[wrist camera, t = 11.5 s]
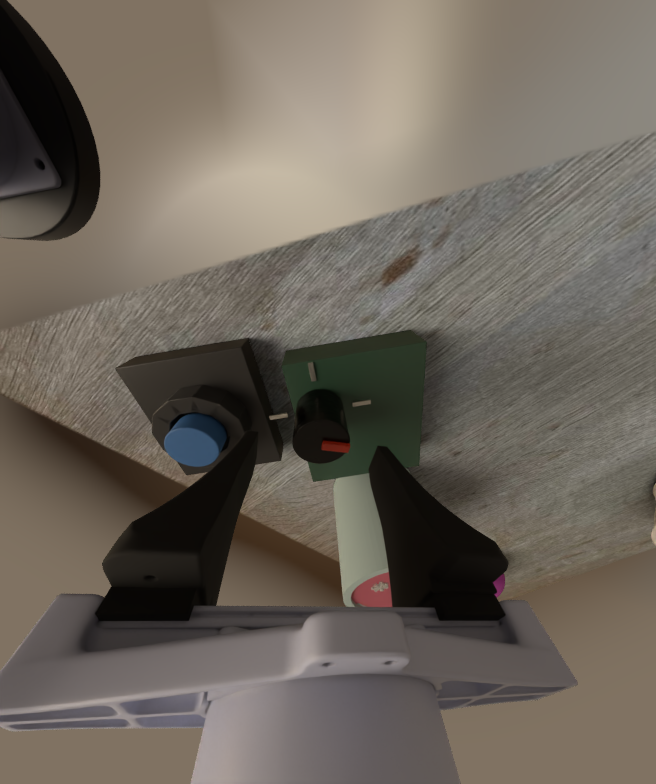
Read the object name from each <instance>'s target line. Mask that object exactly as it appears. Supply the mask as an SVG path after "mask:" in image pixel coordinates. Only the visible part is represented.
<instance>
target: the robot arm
mask: <svg viewBox="0 0 656 784" xmlns="http://www.w3.org/2000/svg"><path fill="white" fill-rule="evenodd" d="M41 161H42V162H43V163H44V165H45V169H44V170H43V168H42V166H41ZM60 186H61V178H60V176H59V174H58V172H57V170H56V169H55V167H54V165H53V163H52V161H51V159H50V158H49V156H48V154H47V152H46V150H45V149H44V147H43V145H42V143H41V141H40V139H39V138H38V136H37V134H36V132H35V130H34V129H33V127H32V125H31V123H30V121H29V119H28V118H27V116H26V114H25V112H24V110H23V109H22V107H21V105H20V103H19V101H18V99H17V98H16V96H15V94H14V92H13V90H12V89H11V87H10V85H9V83H8V81H7V79H6V78H5V76H4V74H3V72H2V70H1V69H0V199H3V198H8V197H13V196H18V195H24V194H29V193H34V192H39V191H45V190H50V189H55V188H59V187H60ZM257 446H258V432H256V431H246V432H245V433H244V435H243V436H242V437H241V439H240V440H239V441H238V442H237V443H236V445H235V446H234V447H233V448H232V449H231V450H230V451H229V452H228V453H227V454H226V456H225V457H224V458H223V459H222V460H221V461H219V462H218V463H217V464H216V465H215V466H214V467H213V468H212V469H211V470H210V471H209V472H208V473H206V474H205V475H204V476H203V477H202V478H200V479H199V480H198V481H197V482H195V483H194V484H193V485H191V486H190V487H189V488H187V489H186V490H185V491H183V492H182V493H180V494H179V495H177V496H176V497H174V498H173V499H171V500H170V501H168V502H167V503H165V504H163V505H162V506H160V507H159V508H157V509H155V510H154V511H152V512H150V513H148V514H146V515H144V516H143V517H141V518H139V519H137V520H135V521H134V522H132V523H131V524H130V525H129V527H128V528H127V529H126V530H125V531H124V532H123V533H122V535H121V536H120V537H119V539H118V540H117V541H116V543H115V544H114V546H113V547H112V548H111V550H110V551H109V553H108V554H107V556H106V557H105V559H104V560H103V563H102V566H103V570H104V572H105V574H106V576H107V578H108V580H109V582H110V584H111V586H112V587H111V588H110V590H109V591H108V593H107V595H106V596H105V598H104V597H103V596H100V595H96V594H60V595H58V596H57V597H56V598H55V599H54V601H53V602H52V603H51V605H50V606H49V607H48V609H47V610H46V611H45V613H44V614H43V615H42V616H41V618H40V619H39V621H38V622H37V623H36V624H35V626H34V627H33V628H32V630H31V631H30V632H29V634H28V635H27V636H26V638H25V639H24V640H23V642H22V643H21V644H20V646H19V647H18V648H17V650H16V651H15V652H14V654H13V655H12V656H11V658H10V659H9V660H8V661H7V663H6V664H5V665H4V667H3V668H2V670H1V671H0V727H1V728H4V729H7V730H10V731H32V730H53V729H82V728H83V729H89V728H203V733H202V737H201V741H200V745H199V750H198V754H197V758H196V763H195V767H194V771H193V776H192V780H191V784H461V783H460V779H459V776H458V772H457V769H456V765H455V762H454V758H453V755H452V751H451V747H450V744H449V740H448V737H447V733H446V730H445V726H444V723H443V719H442V716H441V713H440V710H447V709H454V708H463V707H471V706H479V705H488V704H496V703H506V702H517V701H530V700H538V699H541V698H544V697H547V696H549V695H552V694H555V693H557V692H560V691H563V690H566V689H568V688H571V687H574V686H576V685H577V684H578V683H577V680H576V679H575V677H574V675H573V674H572V672H571V671H570V669H569V667H568V666H567V664H566V663H565V661H564V660H563V658H562V656H561V655H560V653H559V652H558V650H557V648H556V647H555V645H554V643H553V642H552V640H551V639H550V637H549V635H548V634H547V632H546V631H545V629H544V627H543V626H542V624H541V623H540V621H539V620H538V618H537V616H536V615H535V613H534V611H533V610H532V608H531V607H530V605H529V603H528V602H527V601H525V600H503V601H500V602H498V600H497V598H496V596H495V594H496V593H497V589H496V587H495V586H494V584H493V582H494V581H495V580H497V579H498V578H499V577H500V576H501V575H502V574H503V573H504V572H505V571H506V570H507V568H508V561H507V559H506V558H505V556H504V555H503V553H502V552H501V550H500V548H499V547H498V545H497V544H496V542H495V541H493V540H491V539H490V538H488V537H487V536H485V535H483V534H482V533H480V532H479V531H477V530H475V529H474V528H472V527H471V526H470V525H468V524H467V523H465V522H464V521H462V520H461V519H460V518H458V517H457V516H456V515H454V514H453V513H452V512H450V511H449V510H448V509H447V508H445V507H444V506H443V505H442V504H441V503H439V502H438V501H437V500H436V499H435V498H434V497H433V496H432V495H431V494H429V493H428V492H427V491H426V490H425V489H424V488H423V487H422V486H421V485H420V484H419V483H418V482H417V481H416V480H415V478H414V477H413V476H412V475H411V474H410V473H409V472H408V471H407V470H406V468H405V467H404V466H403V465H402V464H401V463H400V461H399V460H398V459H397V458H396V457H395V455H394V454H393V453H392V452H391V451H390V449H389V448H388V447H386V446H377V448H376V451H375V454H374V456H373V459H372V461H371V464H370V466H369V469H368V470H369V478H370V485H371V489H372V492H373V496H374V500H375V503H376V507H377V511H378V514H379V518H380V522H381V526H382V531H383V537H384V543H385V549H386V556H387V563H388V571H389V579H390V587H391V598H392V607H297V606H294V607H293V606H291V607H289V606H288V607H287V606H216V604H217V599H218V594H219V591H220V586H221V582H222V578H223V574H224V570H225V565H226V561H227V557H228V553H229V549H230V545H231V541H232V537H233V533H234V529H235V525H236V522H237V518H238V515H239V512H240V509H241V506H242V503H243V500H244V498H245V495H246V492H247V489H248V486H249V484H250V481H251V478H252V475H253V471H254V467H255V463H256V458H257Z"/></svg>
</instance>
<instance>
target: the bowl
mask: <svg viewBox="0 0 656 784" xmlns="http://www.w3.org/2000/svg"><path fill="white" fill-rule="evenodd" d="M653 494H654V497H655V499H656V483H655V485H654V487H653ZM651 538H652V541H653V543H654V544H655V545H656V506H655V514H654V528H653V530H652V534H651Z"/></svg>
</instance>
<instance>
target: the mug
mask: <svg viewBox="0 0 656 784" xmlns="http://www.w3.org/2000/svg"><path fill="white" fill-rule="evenodd" d="M406 470H407V471H408V472H409V473H410V471H409V470H408V469H407V468H406ZM410 474H411V473H410ZM333 492H334V503H335V514H336V526H337V537H338V548H339V559H340V568H341V569H340V570H341V581H342V592H343V600H344V604H345V605H346V606H347V607H392V598H391V587H390V579H389V571H388V563H387V556H386V549H385V543H384V537H383V531H382V526H381V522H380V518H379V514H378V511H377V507H376V503H375V500H374V496H373V492H372V489H371V485H370V478H369V473H368V474H361V475H355V476H348V477H342V478H337V479H336V481H335V483H334V487H333Z"/></svg>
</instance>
